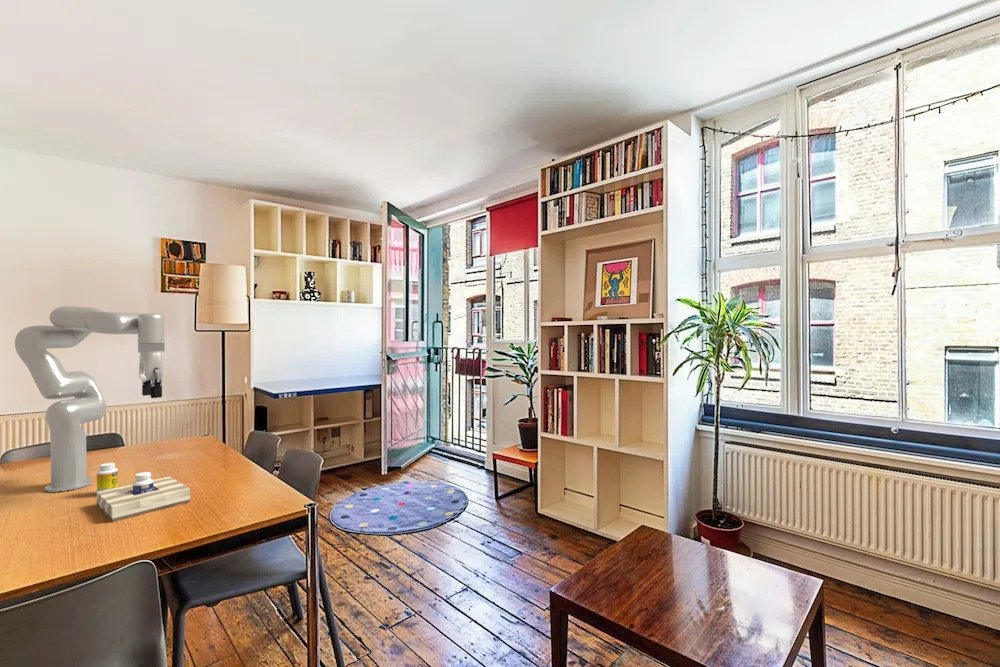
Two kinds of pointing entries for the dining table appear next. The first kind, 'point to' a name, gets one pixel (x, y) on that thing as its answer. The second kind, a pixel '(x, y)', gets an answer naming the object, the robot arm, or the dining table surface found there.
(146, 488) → the pill bottle
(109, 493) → the socket block
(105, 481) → the supplement bottle
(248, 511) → the dining table surface
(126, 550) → the dining table surface
